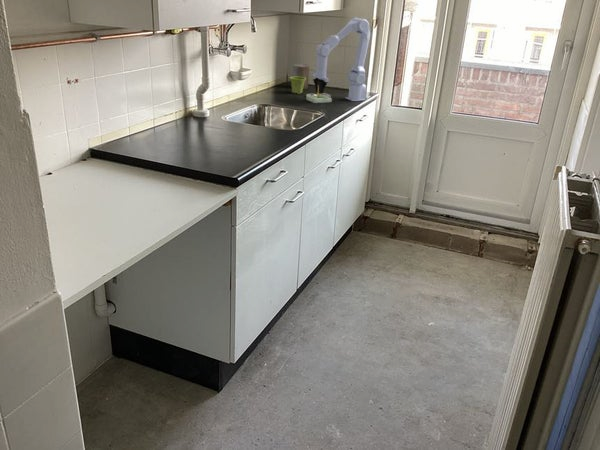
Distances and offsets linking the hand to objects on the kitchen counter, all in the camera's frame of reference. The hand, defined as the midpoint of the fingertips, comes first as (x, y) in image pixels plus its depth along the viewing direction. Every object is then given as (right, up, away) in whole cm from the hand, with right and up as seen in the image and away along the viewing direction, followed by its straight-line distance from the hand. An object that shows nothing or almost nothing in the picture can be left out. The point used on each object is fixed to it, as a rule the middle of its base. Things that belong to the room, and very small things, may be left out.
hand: (319, 92), depth 297 cm
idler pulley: (-4, 0, +10) cm, 11 cm away
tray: (0, -4, +2) cm, 4 cm away
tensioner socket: (+3, +1, +12) cm, 13 cm away
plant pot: (-13, +5, +19) cm, 23 cm away
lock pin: (0, -2, +2) cm, 3 cm away
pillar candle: (-11, +11, +33) cm, 36 cm away
